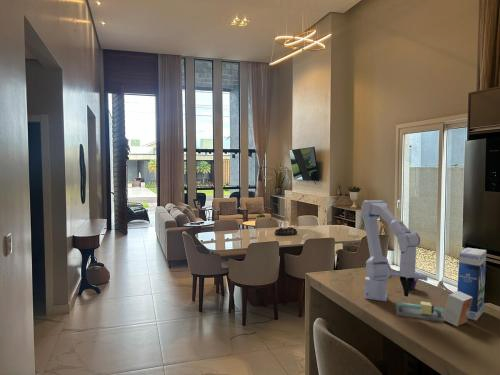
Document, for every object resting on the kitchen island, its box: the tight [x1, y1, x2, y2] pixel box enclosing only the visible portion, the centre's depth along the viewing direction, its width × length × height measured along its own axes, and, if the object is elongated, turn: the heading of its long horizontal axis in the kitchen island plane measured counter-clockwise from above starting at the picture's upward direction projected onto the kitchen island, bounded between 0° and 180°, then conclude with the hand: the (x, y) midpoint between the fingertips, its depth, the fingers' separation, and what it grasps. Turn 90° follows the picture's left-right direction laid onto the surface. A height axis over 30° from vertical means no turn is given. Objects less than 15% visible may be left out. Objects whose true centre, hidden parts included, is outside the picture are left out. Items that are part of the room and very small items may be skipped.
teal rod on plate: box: [395, 301, 446, 323], centre depth 145 cm, size 17×8×5 cm, turn 69°
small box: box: [443, 291, 473, 328], centre depth 138 cm, size 8×6×10 cm
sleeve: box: [419, 301, 432, 315], centre depth 144 cm, size 4×4×4 cm
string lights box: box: [456, 247, 487, 321], centre depth 147 cm, size 13×8×26 cm, turn 137°
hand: (406, 295), depth 146 cm, fingers closed
